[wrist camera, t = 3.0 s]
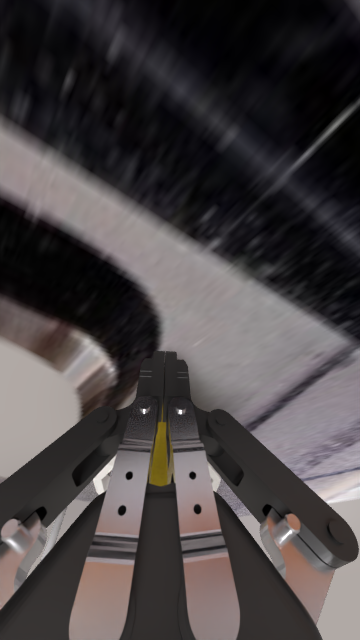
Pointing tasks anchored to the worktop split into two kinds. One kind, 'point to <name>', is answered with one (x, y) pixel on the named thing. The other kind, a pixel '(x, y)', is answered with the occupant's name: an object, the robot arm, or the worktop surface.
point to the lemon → (160, 457)
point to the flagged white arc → (101, 486)
